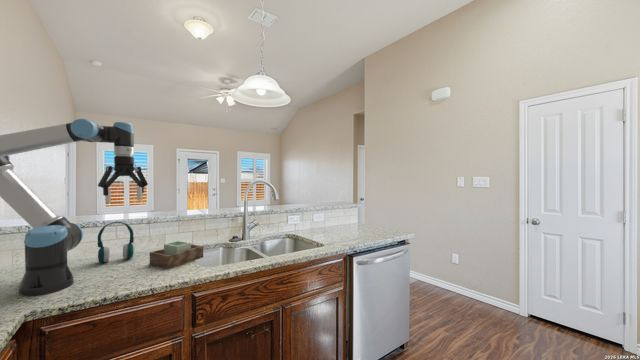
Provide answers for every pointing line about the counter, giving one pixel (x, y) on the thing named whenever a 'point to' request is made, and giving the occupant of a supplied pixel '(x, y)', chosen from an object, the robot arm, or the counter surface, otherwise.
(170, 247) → the small crate
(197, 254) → the big crate
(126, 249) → the headphones
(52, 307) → the counter surface
